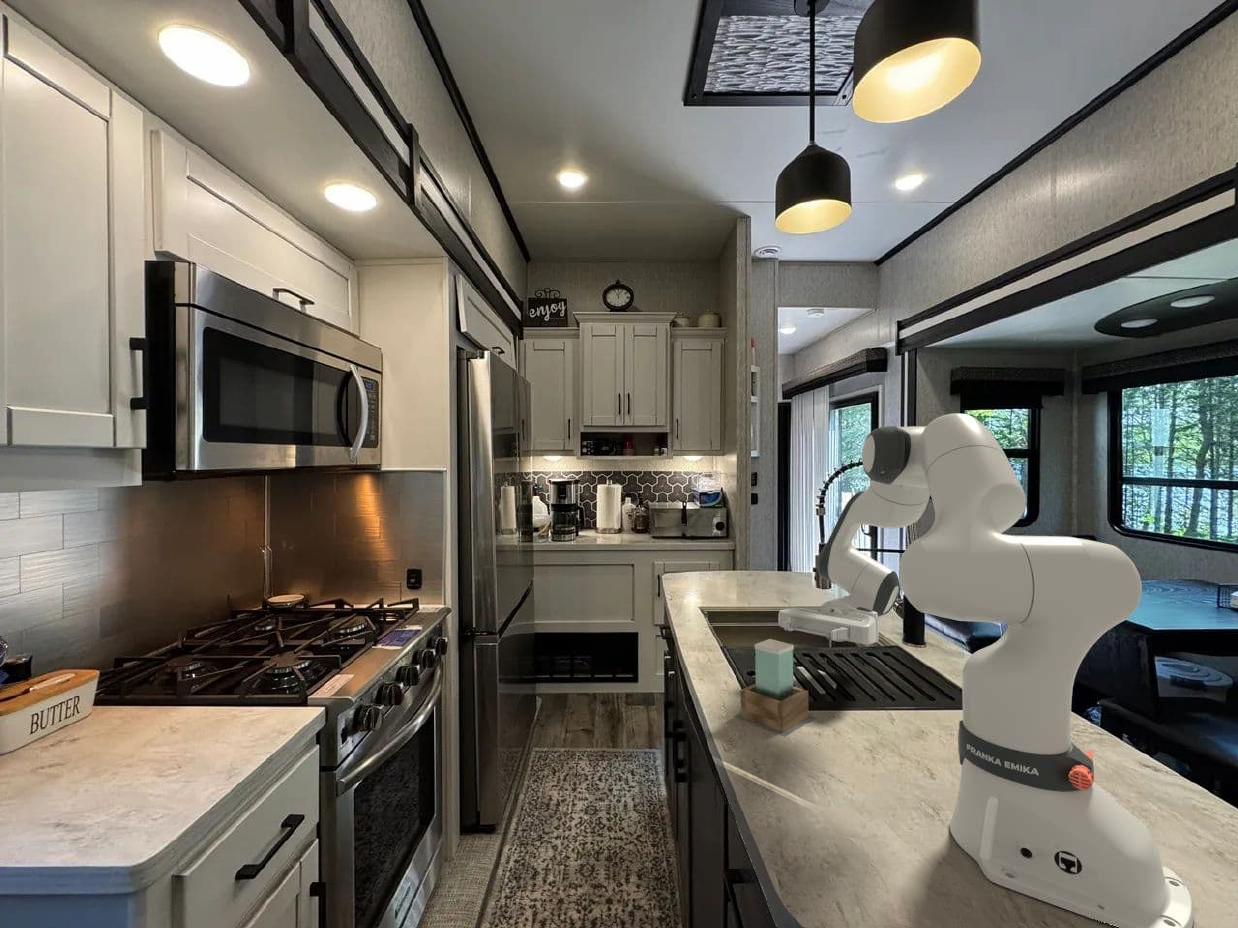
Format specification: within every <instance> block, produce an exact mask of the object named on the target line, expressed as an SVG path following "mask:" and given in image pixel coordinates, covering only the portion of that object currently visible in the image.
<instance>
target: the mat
mask: <svg viewBox="0 0 1238 928" xmlns="http://www.w3.org/2000/svg"><path fill="white" fill-rule="evenodd" d="M733 717H734V718H735V719H736V718H737V719H738V720H741V721H744V722H746V723H749V724H751V725H755V727H758V728H762V729H765V730H767V731H770V732H773V733H775V734H776V735H779V736H783V737H787V736H788V735H790V734H792V733H794V732H795V731H797V730H799V729H801V728H802V727H804V726H805V725H807V724H808V723H810V722H811V721H814V720H815V719H817V717H815V716H813V715H810V714H809V718H807V719H805V720H803V721H802V722H800V723H798V724H797V725H795V726H793V727H792V728H790V729H788V730H787V731H785V732H780V731H777V730H775V729H772V728H770V727H767V726H765V725H762V724H759V723H757V722H754V721H752V720H749V719H746V718H744V717H741V712H739V713H737V714H735V715H734V716H733Z"/></svg>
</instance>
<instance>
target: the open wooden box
mask: <svg viewBox="0 0 1238 928" xmlns="http://www.w3.org/2000/svg"><path fill="white" fill-rule="evenodd" d="M740 713H741V717H744V718H746V719H749V720H752V721H754V722H757V723H759V724H762V725H765V726H767V727H770V728H772V729H775V730H777V731H780V732H785V731H787V730H788V729H790V728H792V727H793V726H795V725H797V724H798V723H800V722H802V721H803V720H805V719H807V718H809V715H810V714H809V690H806V689H803V688H800V687H798V686H794V685H793V695H792V696H790V697H788V698H786V699H784V700H782V701H779V700H776V699H773V698H770V697H767V696H764V695H761V694H758V693H756V682H755V683H753V684H751V685H749V686H746V687H745V688H742V689H741V690H740Z"/></svg>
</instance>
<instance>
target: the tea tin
mask: <svg viewBox="0 0 1238 928" xmlns="http://www.w3.org/2000/svg"><path fill="white" fill-rule="evenodd" d="M794 646H795V645H794V644H792V643H789V642H788V643H787V642H784V641H779V640H776V639H772V638H769V639H765V640H763V641H760V642H757V643H754V649H755V653H754V654H755V683H756V693H758V694H761V695H764V696H767V697H770V698H773V699H776V700H779V701H782V700H784V699H786V698H788V697H790V696H792V695H793V686H794Z"/></svg>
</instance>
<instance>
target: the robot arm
mask: <svg viewBox="0 0 1238 928" xmlns="http://www.w3.org/2000/svg"><path fill="white" fill-rule="evenodd" d="M861 462H862V467H863V471H864V473H865V475H867V477H868V479H870V480H871V481H870V484H869V486H868V488H867V489H866V490H863V491H861V490H860V491H857V492H855V494H854V495H853V496H851V498H850V499H849V500H848V501H847V502H846V504H845V506H844V508H843V510H842V512H840V513H841V514H839V516H838V520H837V521H836V523H835V525H834V527H833V530H832V531H831V534H830V536H829V538H828V540H827V541H826V543H825V545H824V546H823V548H822V549H821V551H820V553H819V554H818V556H817V558H816V562H815V563H816V568H817V571H818V574H819V576H820V577H821V578H822V579H824V580H825V581H828V582H830V583H831V584H834V585H836V586H838V587H839V588H841V589H842V590H844V591H845V592H846V593H848V595H845V596H843V597H838V598H835V599H832V600H831V599H830V600H828V601H826V602H823V603H822V604H821V605H820V607H819V608H818V609H817V610H816V609H810V608H804V607H790V608H784V609H780V610H779V612H778V625H779V627H780V628H783V629H784V631H788V632H792V631H800V632H803V633H808V634H813V635H817V636H822V637H826V639H827V640H830V641H834V642H841V643H842V642H846V641H847V642H851V643H856V644H861V645H871V644H875V643H878V642H879V638H880V637H879V636H880V635H879V634H880V625H879V624H880V623H881V622H882V620H883V619H884V617H885V615H887V614H888V613H889V612H890V611H891V610H892V609H893V607H894V606H895V604H896V602H897V600H898V598H899V596H900V593H901V590H902V592H903V594H904V595H905V598H906V599H907V600H908V602H909V603H910V604H911V605H912V606H913V607H914V608H915V609H916V610H917V611H919V612H920V613H923V614H928V615H932V616H937V617H941V618H945V619H950V620H953V621H959V622H977V623H978V622H980V623H999V624H1001V623H1002V624H1008V626H1007V628H1006V631H1005V632H1004V634H1003V635H1002V636H1000V638H998V640H996V641H995V642H994V643H992V644H991V645H988V646H985V647H983V648H981V649H978V650H977V651H975V652H974V653H972V654H971V655H970V656H969V657H968V658H967V659H966V661H965V663H964V665H963V666H962V671H961V684H962V685H961V688H962V689H961V690H962V694H961V695H962V720H961V719H960V721H959V723H958V731H957V751H958V755H959V757H958V758H959V764H960V766H961V769H960V770H961V772H960V779H959V787H958V793H957V798H956V803H955V808H954V811H953V814H952V817H951V818H950V822H949V830H950V833H951V836H952V837H953V839H954V841H955V842H956V843H957V844H958V846H959V847H961V848H962V849H963V850H964V852H965V853H967V854H968V855H969V856H970V857H972V858H973V860H975V861H976V863H977V864H978V866H979V868H980V869H981V872H983V874H984V876H985V877H986V878H987V879H988V880H989V881H991V882H992V883H995V884H997V885H999V886H1001V887H1004V888H1007V889H1008V890H1009V889H1010V890H1013V891H1016V892H1017V893H1021V894H1023V895H1026V896H1029V897H1032V898H1034V899H1037V900H1040V901H1042V902H1046V903H1047V904H1050V905H1053V906H1057V907H1059V908H1062V909H1063V910H1064V909H1065V910H1067V911H1070V912H1073V913H1075V914H1078V915H1081V916H1084V917H1086V918H1088V919H1092V920H1094V919H1095V921H1097V920H1098V921H1097V922H1100V921H1101V922H1100V923H1102V922H1105V923H1108V924H1112V925H1116V926H1118V927H1120V928H1193V925H1194V919H1195V912H1194V905H1193V899H1192V896H1191V893H1190V891H1189V888H1188V887H1187V885H1186V883H1185V882H1184V881H1183V879H1182V878H1181V877H1179V876H1178V875H1177V873H1175V872H1174V871H1173V870H1172V869H1171V868H1169V867H1167V866H1165V865H1163V863H1162V860H1161V856H1160V851H1159V850H1158V847H1157V844H1156V842H1155V841H1156V840H1155V839H1154V836H1153V835H1152V834H1151V832H1150V830H1149V828H1148V827H1147V826H1146V825H1145V824H1144V823H1143V821H1141V820H1140V819H1138V818H1137V817H1136V816H1135V815H1134V814H1132V813H1131V812H1130V811H1129V810H1128V809H1127V808H1125V806H1123V805H1121V804H1120V803H1119V802H1118V801H1117V800H1115V799H1114V798H1113V797H1112V796H1111V795H1110V794H1108V792H1106V791H1105V789H1103V788H1101V787H1100V786H1099V785H1098V784H1097V783H1096V782H1094V780H1095V770H1094V769H1095V768H1094V760H1093V757H1094V756H1093V752H1092V750H1090V749H1089V750H1087V753H1085V752H1083V751H1082V750H1081V749H1080V748H1079V747H1078V746H1077V745H1075V743H1073V742H1072V741H1071V740H1072V739H1071V737H1072V736H1071V731H1072V730H1071V725H1072V724H1071V723H1072V720H1071V719H1072V717H1071V715H1072V701H1073V700H1072V699H1073V698H1072V697H1073V687H1074V684H1075V683H1074V682H1075V678H1076V675H1077V673H1078V670H1079V667H1080V666H1081V664H1082V662H1083V660H1084V658H1085V657H1086V655H1087V654H1088V653H1089V651H1090V649H1091V648H1092V646H1093V645H1094V644H1095V643H1096V642H1097V641H1098V639H1100V638H1101V637H1102V636H1103V635H1104V634H1105V633H1107V632H1108V631H1110V630H1111V629H1113V628H1114V627H1115V626H1117V625H1119V624H1121V623H1122V622H1124V621H1126V620H1128V619H1129V618H1130V617H1131V616H1132V615H1133V614H1134V613H1135V611H1136V610H1137V609H1138V606H1139V604H1140V602H1141V599H1142V595H1143V589H1142V588H1143V584H1142V580H1141V579H1142V578H1141V576H1140V573H1139V571H1138V569H1137V567H1136V565H1135V563H1134V562H1133V561H1132V559H1131V558H1129V556H1128V555H1127V554H1126V553H1125V552H1124V551H1123V550H1122V549H1120V548H1119V547H1118V546H1116V545H1112V544H1110V543H1103V542H1101V541H1096V540H1090V539H1085V538H1077V537H1073V536H1060V535H1057V536H1056V535H1055V536H1054V535H1051V536H1050V535H1049V536H1048V535H1011V534H1004V532H1006V531H1007V530H1009V529H1010V528H1011V527H1013V526H1014V525H1015V524H1016V523H1017V522H1018V521H1019V520H1020V519H1021V518H1022V516H1023V514H1024V513H1025V510H1026V504H1027V495H1026V493H1025V490H1024V489H1023V486H1022V484H1021V483H1020V481H1019V478H1018V477H1017V474H1016V473H1015V471H1014V469H1013V467H1012V465H1011V462H1010V461H1009V459H1008V457H1007V455H1006V453H1005V451H1004V450H1003V449H1002V446H1001V445H1000V443H998V441H997V440H996V438H995V437H994V436H993V434H992V433H991V432H990V431H989V429H988V428H987V427H985V425H983V423H982V422H981V421H980V420H979V419H977V418H976V417H974V416H972V415H969V414H965V413H957V412H956V413H955V412H954V413H948V414H944V415H941V416H938V417H936V418H935V419H933V420H932V421H930V422H929V423H928V424H927V425H926V426H920V425H919V426H913V425H912V426H900V427H898V426H896V425H887V426H880V427H878V428H875V429H874V430H872V431H871V432H869V434H868V435H867V436H866V438H865V441H864V444H863V446H862V451H861ZM930 497H931V500H932V504H933V510H934V521H933V524H932V526H931V528H930V529H929V530H928V531H927V532H925V534H923V535H922V536H920V537H919V538H917V539H915V540H913V541H912V542H911V543H910V544H909V545H908V547H907V548H906V549H905V550H904V552H903V554H902V556H901V558H900V560H899V565H898V574H897V572H896V571H894V570H893V569H891V568H890V567H888V566H887V565H885V564H883V563H881V562H880V561H878V560H875V558H872V557H870V556H868V555H867V554H865V553H863V552H862V551H860V550H858V549H857V548H855V546H854V545H853V543H852V542H853V539H854V538H855V536H856V534H857V532H858V530H859V528H860V526H861V525H865V526H873V527H878V528H881V529H901V528H902V529H903V528H905V527H909V526H911V525H913V524H915V523H917V521H918V520H920V518H921V517H922V516H923V515H924V512H925V511H926V508H927V505H928V504H929V500H930ZM1105 923H1104V924H1105ZM1108 924H1107V925H1108Z"/></svg>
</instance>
